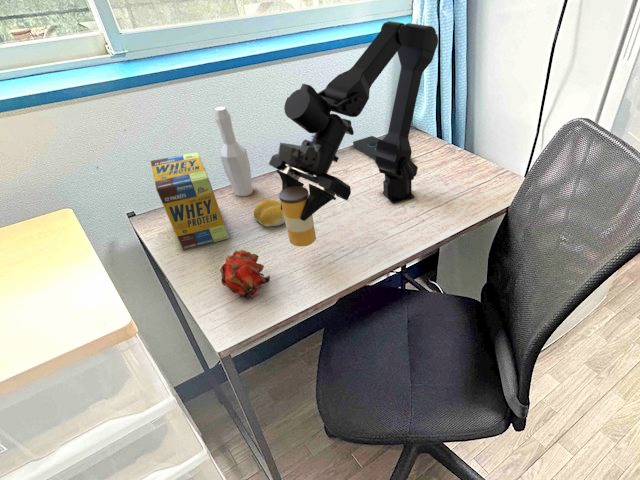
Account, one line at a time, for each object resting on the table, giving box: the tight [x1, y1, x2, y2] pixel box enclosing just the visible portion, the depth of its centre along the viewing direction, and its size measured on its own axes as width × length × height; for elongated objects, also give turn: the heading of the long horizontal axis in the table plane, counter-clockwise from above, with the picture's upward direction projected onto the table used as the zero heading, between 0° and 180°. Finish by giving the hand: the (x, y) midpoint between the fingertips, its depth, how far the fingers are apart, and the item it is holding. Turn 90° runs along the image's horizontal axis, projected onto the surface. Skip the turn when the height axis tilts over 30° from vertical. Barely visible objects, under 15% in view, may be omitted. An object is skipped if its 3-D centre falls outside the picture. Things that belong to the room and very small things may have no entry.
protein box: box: [150, 152, 229, 251], centre depth 99 cm, size 10×15×16 cm
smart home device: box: [352, 135, 380, 161], centre depth 133 cm, size 8×2×20 cm
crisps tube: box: [278, 186, 317, 247], centre depth 89 cm, size 6×6×11 cm
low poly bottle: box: [214, 106, 254, 197], centre depth 110 cm, size 6×6×22 cm
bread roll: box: [253, 199, 286, 228], centre depth 106 cm, size 8×9×4 cm
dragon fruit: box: [219, 249, 271, 300], centre depth 85 cm, size 8×8×12 cm
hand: (292, 215), depth 87 cm, fingers closed on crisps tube, 6 cm apart
